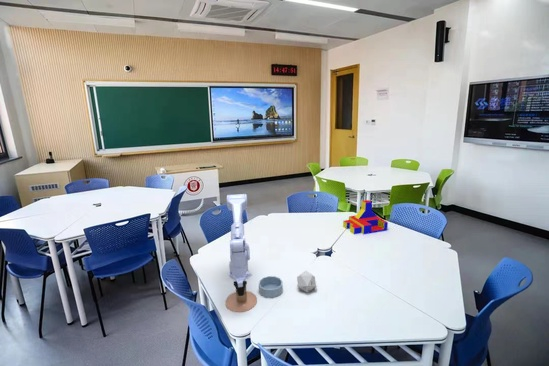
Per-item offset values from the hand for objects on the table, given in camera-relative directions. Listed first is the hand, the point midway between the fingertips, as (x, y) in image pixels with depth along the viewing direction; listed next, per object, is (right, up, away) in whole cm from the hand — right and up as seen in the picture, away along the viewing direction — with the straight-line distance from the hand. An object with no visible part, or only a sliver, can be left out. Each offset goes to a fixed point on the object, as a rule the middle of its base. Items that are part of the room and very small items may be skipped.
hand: (240, 291), depth 126 cm
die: (+30, -2, +10) cm, 32 cm away
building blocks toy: (+79, +16, +77) cm, 112 cm away
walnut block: (0, -3, +1) cm, 3 cm away
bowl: (+13, -3, +9) cm, 16 cm away
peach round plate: (0, -5, +1) cm, 5 cm away
